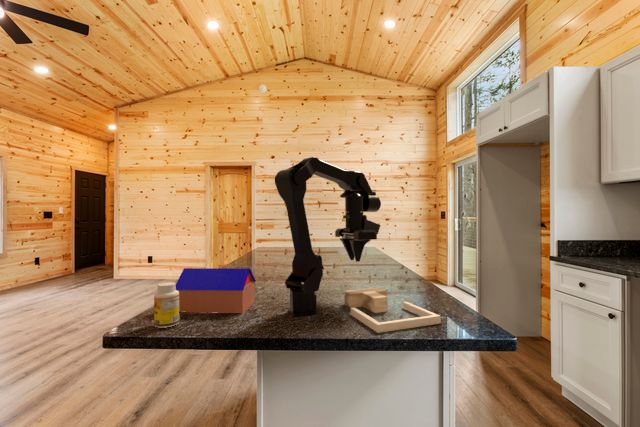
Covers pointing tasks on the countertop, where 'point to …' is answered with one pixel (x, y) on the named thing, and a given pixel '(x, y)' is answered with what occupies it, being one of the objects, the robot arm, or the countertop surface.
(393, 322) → the corral
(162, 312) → the supplement bottle
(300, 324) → the countertop surface
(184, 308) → the house
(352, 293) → the tee block
